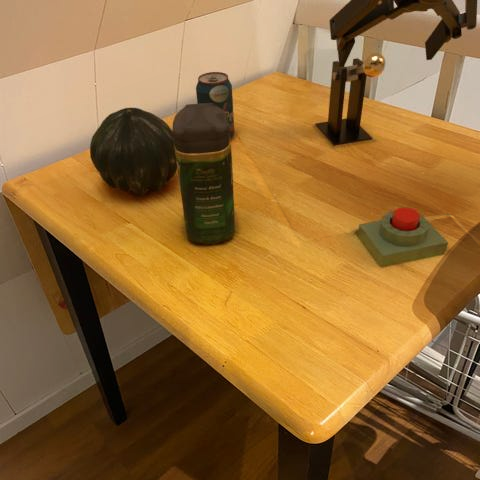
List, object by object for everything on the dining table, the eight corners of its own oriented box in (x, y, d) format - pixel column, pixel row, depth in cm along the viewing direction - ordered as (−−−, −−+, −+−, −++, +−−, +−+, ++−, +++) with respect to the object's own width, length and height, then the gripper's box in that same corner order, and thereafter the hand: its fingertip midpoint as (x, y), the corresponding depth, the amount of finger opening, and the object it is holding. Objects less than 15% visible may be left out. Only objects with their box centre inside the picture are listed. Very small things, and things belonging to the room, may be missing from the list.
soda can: (234, 145, 98) (231, 83, 89) (200, 147, 98) (193, 84, 89) (234, 130, 102) (231, 69, 94) (202, 131, 103) (195, 71, 94)
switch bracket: (371, 144, 95) (383, 69, 85) (333, 151, 94) (340, 75, 84) (350, 124, 102) (359, 52, 92) (314, 129, 101) (319, 57, 91)
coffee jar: (237, 244, 74) (230, 125, 61) (186, 248, 74) (167, 129, 61) (234, 210, 81) (227, 95, 68) (186, 213, 81) (170, 99, 68)
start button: (409, 215, 71) (412, 205, 70) (422, 229, 69) (424, 218, 68) (386, 220, 71) (389, 209, 70) (398, 234, 68) (401, 223, 67)
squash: (122, 127, 93) (83, 85, 78) (196, 136, 90) (169, 95, 75) (107, 199, 93) (64, 171, 78) (180, 211, 90) (150, 184, 75)
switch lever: (389, 74, 79) (389, 49, 78) (369, 76, 79) (368, 52, 78) (355, 84, 92) (354, 63, 90) (337, 87, 91) (336, 65, 90)
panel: (416, 224, 76) (422, 202, 73) (444, 254, 70) (451, 231, 67) (357, 236, 74) (360, 213, 72) (380, 267, 69) (385, 244, 66)
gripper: (337, -9, 53) (306, 85, 74) (560, -25, 54) (466, 72, 75) (331, -77, 53) (302, 36, 74) (554, -92, 54) (462, 24, 75)
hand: (384, 54), depth 75 cm, fingers open, 13 cm apart
